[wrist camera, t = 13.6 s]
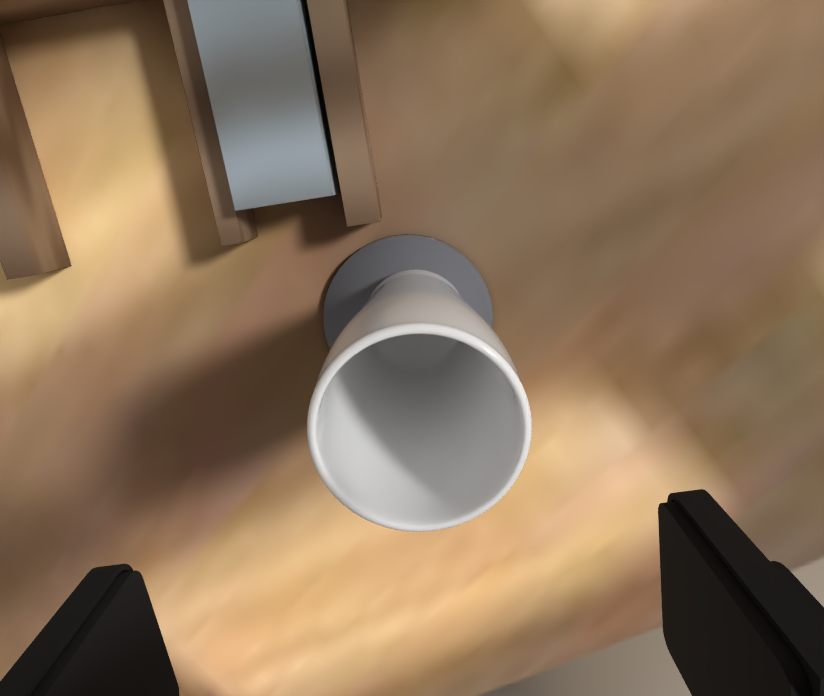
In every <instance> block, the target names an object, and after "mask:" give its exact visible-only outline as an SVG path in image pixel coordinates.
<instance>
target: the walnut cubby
mask: <svg viewBox="0 0 824 696" xmlns="http://www.w3.org/2000/svg"><path fill="white" fill-rule="evenodd" d="M133 1H139V0H0V24H6V23H12V22H18V21H24V20H29V19H35V18H41V17H47V16H52V15H58V14H64V13H70V12H75V11H81V10H87V9H93V8H98V7H104V6H110V5H116V4H121V3H127V2H133ZM163 2H164V6H165V10H166V14H167V18H168V23H169V27H170V31H171V35H172V39H173V44H174V48H175V52H176V56H177V61H178V65H179V69H180V73H181V77H182V82H183V86H184V90H185V94H186V99H187V103H188V107H189V111H190V115H191V120H192V124H193V128H194V132H195V137H196V141H197V145H198V149H199V153H200V158H201V162H202V166H203V170H204V174H205V179H206V183H207V187H208V191H209V196H210V200H211V204H212V208H213V212H214V217H215V221H216V225H217V229H218V234H219V238H220V242H221V246H226V245H232V244H239V243H243V242H246V241H248V240H251V239H253V238H256V237H258V234H257V230H256V225H255V221H254V216H253V212H252V208H256V207H263V206H269V205H275V204H282V203H288V202H295V201H301V200H307V199H314V198H320V197H326V196H332V195H336V194H340V193H341V195H342V201H343V206H344V212H345V217H346V223H347V227H348V226H355V225H361V224H368V223H374V222H379V221H380V220H381V218H382V214H381V208H380V202H379V195H378V189H377V183H376V177H375V171H374V165H373V158H372V152H371V146H370V140H369V134H368V128H367V121H366V115H365V109H364V103H363V97H362V91H361V84H360V78H359V72H358V66H357V60H356V54H355V47H354V41H353V35H352V29H351V23H350V17H349V10H348V4H347V0H163ZM0 261H1V264H2V267H3V270H4V272H5V275H6V278H7V279H13V278H20V277H26V276H32V275H38V274H42V273H46V272H49V271H53V270H57V269H61V268H64V267H68V266H71V263H70V260H69V256H68V253H67V250H66V247H65V243H64V240H63V237H62V234H61V230H60V227H59V224H58V221H57V217H56V214H55V211H54V208H53V204H52V201H51V198H50V195H49V191H48V188H47V185H46V182H45V178H44V175H43V172H42V169H41V165H40V162H39V159H38V156H37V152H36V149H35V146H34V143H33V139H32V136H31V133H30V130H29V126H28V123H27V120H26V117H25V113H24V110H23V107H22V104H21V100H20V97H19V94H18V91H17V87H16V84H15V81H14V78H13V75H12V71H11V68H10V65H9V62H8V58H7V55H6V52H5V49H4V45H3V42H2V39H1V36H0Z"/></svg>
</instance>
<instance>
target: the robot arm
mask: <svg viewBox="0 0 824 696" xmlns="http://www.w3.org/2000/svg"><path fill="white" fill-rule="evenodd" d="M658 518H659V543H660V568H661V593H662V618H663V633H664V637H665V641H666V645H667V647H668V650H669V652H670V654H671V656H672V658H673V660H674V662H675V664H676V666H677V668H678V669H679V672H680V673H681V675H682V677H683V679H684V681H685V683H686V685H687V687H688V688H689V691H690V693H691V695H692V696H824V607H823V606H822V605H821V604H820V603H819V602H818V601H817V600H816V599H815V598H814V597H813V595H811V593H810V592H809V591H808V590H807V589H806V588H805V587H804V586H803V585H802V584H801V583H800V581H799V580H798V579H797V578H796V577H795V576H794V575H793V574H792V573H791V572H790V571H789V569H787V568H786V567H785V566H784V565H783V564H781V563H779V562H776V561H771V562H770V561H769V560H768V559H767V558H766V557H765V556H764V554H763V553H762V552H761V551H760V550H759V549H758V548H757V547H756V545H755V544H754V543H753V542H752V541H751V540H750V539H749V538H748V537H747V535H746V534H745V533H744V532H743V531H742V530H741V529H740V528H739V527H738V525H737V524H736V523H735V522H734V521H733V520H732V519H731V518H730V517H729V515H728V514H727V513H726V512H725V511H724V510H723V509H722V508H721V506H720V505H719V504H718V503H717V502H716V501H715V500H714V499H713V498H712V496H711V495H710V494H709V493H708V492H707V491H705V490H702V489H701V490H693V491H685V492H677V493H671V494H670V495H669V496H668V501H667V503H660V504H659V507H658ZM0 696H179V687H178V683H177V680H176V677H175V674H174V671H173V668H172V665H171V662H170V659H169V656H168V653H167V650H166V647H165V644H164V640H163V637H162V634H161V631H160V628H159V625H158V622H157V619H156V616H155V613H154V610H153V607H152V604H151V601H150V598H149V595H148V592H147V589H146V586H145V583H144V580H143V577H142V575H141V573H140V572H139V571H133V569H132V568H131V567H130V565H128V564H119V565H111V566H103V567H96V568H93V569H92V570H91V571H90V572H89V573H88V574H87V575H86V576H85V577H84V579H83V580H82V581H81V582H80V584H79V585H78V586H77V587H76V589H75V590H74V591H73V592H72V594H71V595H70V596H69V597H68V598H67V600H66V601H65V602H64V603H63V605H62V606H61V607H60V608H59V610H58V611H57V612H56V613H55V615H54V616H53V617H52V618H51V620H50V621H49V622H48V623H47V624H46V626H45V627H44V628H43V629H42V631H41V632H40V633H39V634H38V636H37V637H36V638H35V639H34V641H33V642H32V643H31V644H30V645H29V647H28V648H27V649H26V650H25V652H24V653H23V654H22V655H21V657H20V658H19V659H18V660H17V662H16V663H15V664H14V665H13V667H12V668H11V669H10V670H9V671H8V673H7V674H6V675H5V676H4V678H3V679H2V680H1V681H0Z"/></svg>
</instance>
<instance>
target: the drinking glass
mask: <svg viewBox="0 0 824 696" xmlns="http://www.w3.org/2000/svg"><path fill="white" fill-rule="evenodd" d="M531 432H532V422H531V412H530V407H529V402H528V399H527V395H526V393H525V390H524V388H523V385H522V382H521V380H520V377H519V375H518V372H517V370H516V367H515V365H514V363H513V361H512V359H511V357H510V355H509V353H508V351H507V350H506V348H505V346H504V344H503V343H502V341H501V340H500V338H499V337H498V336H497V334H496V333H495V331H494V330H493V329H492V328H491V326H490V325H489V324H488V323H487V322H486V321H485V320H484V319H483V318H482V317H481V316H480V315H479V314H478V313H477V312H476V311H475V310H474V309H473V308H472V307H471V306H470V305H469V304H468V303H467V302H466V301H465V300H464V299H463V298H462V297H461V295H460V294H459V292H458V291H457V289H456V288H455V287H454V286H453V285H452V284H451V283H450V282H449V281H448V280H446V279H445V278H443V277H442V276H440V275H438V274H436V273H433V272H430V271H426V270H418V269H414V270H405V271H401V272H398V273H395V274H393V275H391V276H389V277H388V278H386V279H385V280H383V281H382V282H381V283H380V284H379V285H378V286H377V287H376V288H375V289H374V291H373V292H372V294H371V295H370V297H369V299H368V301H367V302H366V303H365V304H364V306H363V307H362V308H361V309H360V310H359V311H358V312H357V313H356V314H355V315H354V316H353V318H352V319H351V320H350V321H349V322H348V323H347V324H346V326H345V327H344V328H343V330H342V331H341V332H340V334H339V335H338V337H337V338H336V340H335V342H334V343H333V345H332V347H331V348H330V350H329V352H328V354H327V356H326V358H325V361H324V363H323V365H322V368H321V370H320V373H319V376H318V379H317V381H316V384H315V388H314V391H313V395H312V398H311V401H310V405H309V409H308V417H307V439H308V445H309V451H310V454H311V457H312V461H313V463H314V466H315V468H316V470H317V472H318V474H319V476H320V478H321V479H322V481H323V482H324V484H325V485H326V487H327V488H328V489H329V491H330V492H331V493H332V494H333V495H334V496H335V497H336V498H337V499H338V500H339V501H340V502H341V503H342V504H343V505H344V506H346V507H347V508H348V509H349V510H351V511H352V512H354V513H355V514H357V515H359V516H360V517H362V518H364V519H366V520H368V521H370V522H373V523H375V524H378V525H381V526H384V527H387V528H391V529H395V530H402V531H412V532H427V531H436V530H442V529H447V528H450V527H454V526H457V525H460V524H463V523H465V522H468V521H470V520H472V519H474V518H476V517H477V516H479V515H481V514H482V513H484V512H486V511H487V510H488V509H490V508H491V507H492V506H494V505H495V504H496V503H497V502H498V501H499V500H500V499H501V498H502V497H503V496H504V495H505V494H506V493H507V492H508V491H509V489H510V488H511V487H512V485H513V484H514V483H515V481H516V479H517V478H518V476H519V474H520V472H521V470H522V468H523V466H524V464H525V461H526V458H527V455H528V451H529V447H530V442H531Z"/></svg>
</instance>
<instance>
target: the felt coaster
mask: <svg viewBox="0 0 824 696" xmlns="http://www.w3.org/2000/svg"><path fill="white" fill-rule="evenodd" d="M414 269H418V270H426V271H430V272H433V273H436V274H438V275H440V276H442V277H443V278H445V279H446V280H448V281H449V282H450V283H451V284H452V285H453V286H454V287H455V288H456V289H457V291H458V292H459V294H460V295H461V297H462V298H463V299H464V300H465V301H466V302H467V303H468V304H469V305H470V306H471V307H472V308H473V309H474V310H475V311H476V312H477V313H478V314H479V315H480V316H481V317H482V318H483V319H484V320H485V321H486V322H487V323H488V324H489V325H490V326H491V328H492V323H493V313H492V304H491V299H490V296H489V293H488V289H487V287H486V285H485V283H484V281H483V279H482V277H481V275H480V274H479V272H478V271H477V269H476V268H475V267H474V265H473V264H472V263H471V262H470V261H469V260H468V259H467V258H466V257H465V256H464V255H463V254H461V253H460V252H459V251H458V250H456V249H455V248H453V247H451V246H450V245H448V244H446V243H444V242H442V241H440V240H436V239H433V238H430V237H426V236H420V235H407V234H406V235H395V236H390V237H386V238H382V239H379V240H377V241H374V242H372V243H370V244H368V245H366V246H364V247H363V248H361V249H360V250H358V251H357V252H355V253H354V254H353V255H352V256H351V257H350V258H349V259H348V260H347V261H346V262H345V263H344V264H343V265H342V267H341V268H340V269H339V270H338V272H337V273H336V275H335V277H334V278H333V280H332V282H331V284H330V287H329V289H328V292H327V295H326V299H325V303H324V310H323V325H324V333H325V337H326V340H327V344H328V346H329V349H330V348H331V347H332V345H333V343H334V342H335V340H336V338H337V337H338V335H339V334H340V332H341V331H342V330H343V328H344V327H345V326H346V324H347V323H348V322H349V321H350V320H351V319H352V318H353V316H354V315H355V314H356V313H357V312H358V311H359V310H360V309H361V308H362V307H363V306H364V304H365V303H366V302H367V301H368V299H369V297H370V295H371V294H372V292H373V291H374V289H375V288H376V287H377V286H378V285H379V284H380V283H381V282H382V281H383V280H385V279H386V278H388V277H389V276H391V275H393V274H395V273H398V272H401V271H405V270H414Z"/></svg>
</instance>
